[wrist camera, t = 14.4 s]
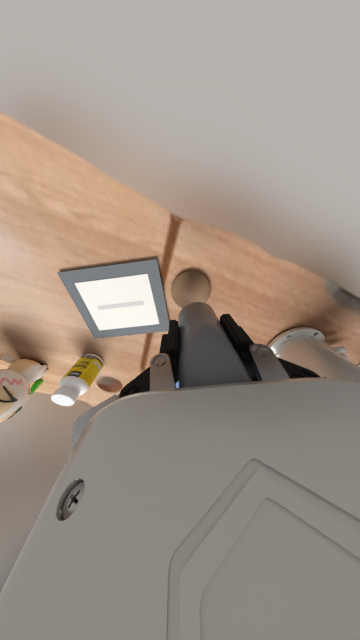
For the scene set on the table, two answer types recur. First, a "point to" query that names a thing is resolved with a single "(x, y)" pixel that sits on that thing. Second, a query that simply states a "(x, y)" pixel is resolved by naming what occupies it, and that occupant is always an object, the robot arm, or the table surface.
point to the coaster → (190, 288)
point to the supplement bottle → (77, 379)
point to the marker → (206, 350)
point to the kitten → (18, 383)
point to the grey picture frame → (119, 298)
